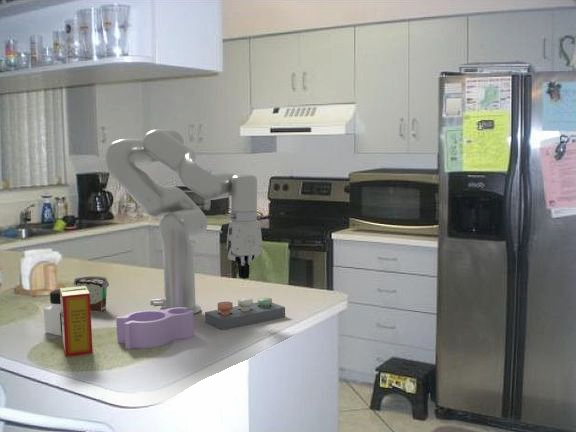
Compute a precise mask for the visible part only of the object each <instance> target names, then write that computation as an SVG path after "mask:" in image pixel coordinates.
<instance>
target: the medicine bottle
mask: <svg viewBox="0 0 576 432" xmlns="http://www.w3.org/2000/svg"><path fill="white" fill-rule="evenodd" d="M49 301H50V306H47V307H44V308H43V320H44V332H45V333H46V334H50V335H54V336H59V337H62V321H61V303H60V288H58V289H54V290H52V291H51V292H50V293H49Z"/></svg>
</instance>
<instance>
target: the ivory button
mask: <svg viewBox="0 0 576 432" xmlns="http://www.w3.org/2000/svg"><path fill="white" fill-rule="evenodd" d="M253 303H254V301H253V298H249V297H242V298H238V299H237V306H241V311H243V312H245V311H250V306H252V305H253Z"/></svg>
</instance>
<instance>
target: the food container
mask: <svg viewBox="0 0 576 432" xmlns="http://www.w3.org/2000/svg"><path fill="white" fill-rule="evenodd" d="M73 285H74V287H77V286H86V287H87V289H88V291H89V293H90V309H91V313H92V312H94V313H101V314H102V313H104V312H105V311H106V310H107V307H106V306H107V290H108V287H109V286H110V283H109V280H108V278H107V277H104V276H97V275H96V276H93V275H92V276H82V277H77V278H74V281H73Z"/></svg>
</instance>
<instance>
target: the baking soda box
mask: <svg viewBox="0 0 576 432" xmlns="http://www.w3.org/2000/svg"><path fill="white" fill-rule="evenodd" d="M59 289H60V303H61V321H62V336H61V339H62V347H63V351H64V355H65V358H66V357H73V356H74V357H75V356H81V355H89V354H94V353H93V334H92V332H93V331H92V311H91V309H90V293H89V291H88V289H87V287H86V286H77V287H76V286H68V287H66V286H65V287H60V288H59Z"/></svg>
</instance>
